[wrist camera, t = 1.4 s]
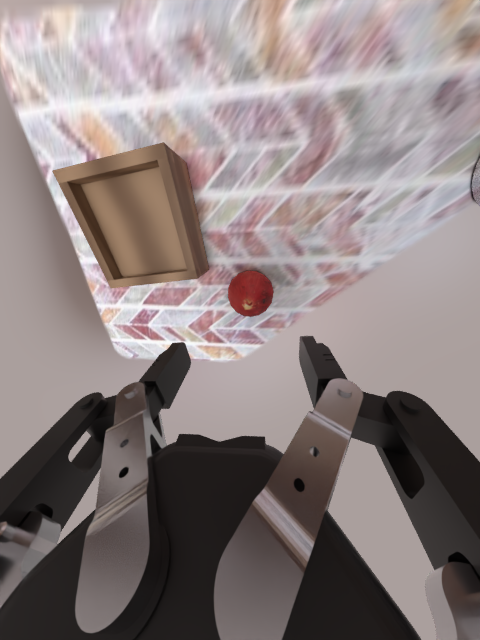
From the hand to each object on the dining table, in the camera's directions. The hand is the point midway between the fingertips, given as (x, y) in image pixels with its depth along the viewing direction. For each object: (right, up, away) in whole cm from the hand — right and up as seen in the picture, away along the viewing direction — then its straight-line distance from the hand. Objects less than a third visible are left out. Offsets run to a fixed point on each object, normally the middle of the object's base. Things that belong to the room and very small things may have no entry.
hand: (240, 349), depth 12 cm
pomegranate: (+2, +7, +14) cm, 16 cm away
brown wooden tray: (-11, +15, +12) cm, 22 cm away
